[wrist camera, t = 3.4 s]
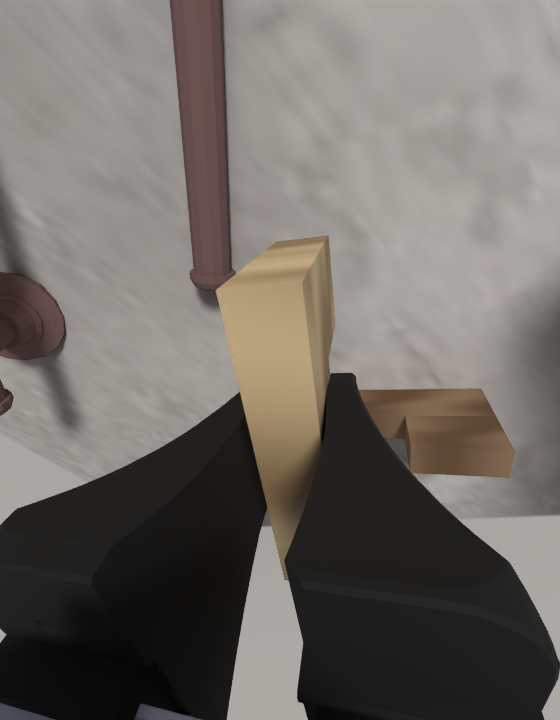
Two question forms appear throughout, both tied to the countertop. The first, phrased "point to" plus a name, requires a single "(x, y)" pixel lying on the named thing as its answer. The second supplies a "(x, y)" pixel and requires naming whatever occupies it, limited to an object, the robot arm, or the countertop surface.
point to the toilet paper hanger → (203, 181)
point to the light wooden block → (283, 368)
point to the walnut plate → (443, 430)
